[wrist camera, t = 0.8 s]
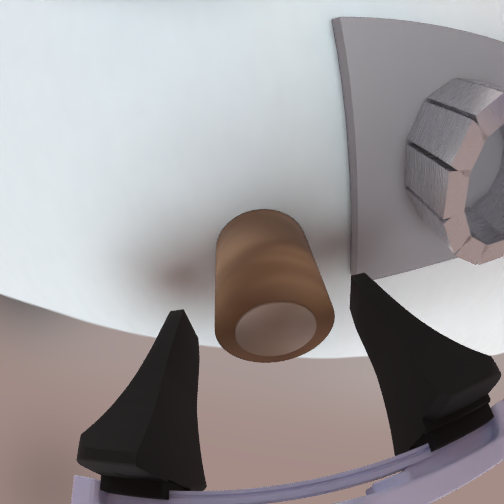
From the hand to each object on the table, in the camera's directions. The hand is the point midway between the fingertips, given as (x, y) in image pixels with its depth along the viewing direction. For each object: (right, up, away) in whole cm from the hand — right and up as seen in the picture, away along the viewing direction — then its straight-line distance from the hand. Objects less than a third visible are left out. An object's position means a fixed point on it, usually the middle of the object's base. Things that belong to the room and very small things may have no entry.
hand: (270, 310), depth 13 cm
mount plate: (+11, +8, +1) cm, 13 cm away
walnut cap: (0, +3, +4) cm, 4 cm away
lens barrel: (+11, +8, +1) cm, 13 cm away
